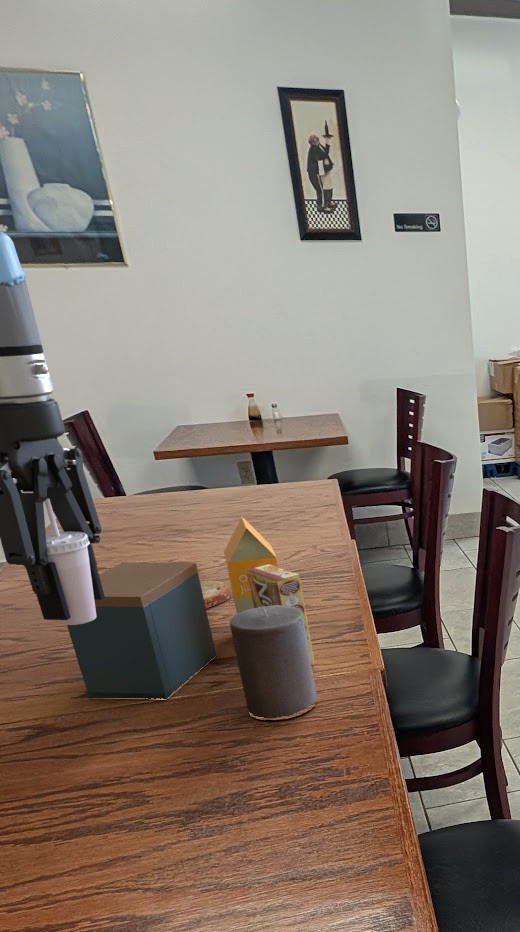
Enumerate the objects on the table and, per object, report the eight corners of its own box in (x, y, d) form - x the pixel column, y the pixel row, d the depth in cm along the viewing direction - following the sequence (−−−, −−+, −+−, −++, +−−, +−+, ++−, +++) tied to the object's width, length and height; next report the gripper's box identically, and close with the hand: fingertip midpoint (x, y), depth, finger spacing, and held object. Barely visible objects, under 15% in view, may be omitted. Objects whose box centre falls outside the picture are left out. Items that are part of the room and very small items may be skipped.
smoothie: (116, 608, 99) (85, 492, 93) (99, 627, 94) (65, 505, 88) (59, 611, 99) (24, 494, 92) (38, 631, 93) (0, 508, 87)
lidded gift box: (89, 699, 121) (57, 596, 114) (146, 656, 135) (122, 562, 128) (166, 700, 120) (140, 596, 113) (216, 657, 134) (195, 562, 127)
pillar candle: (241, 725, 113) (219, 623, 106) (254, 694, 121) (234, 598, 115) (314, 718, 114) (297, 617, 107) (321, 689, 123) (306, 593, 116)
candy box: (316, 666, 130) (301, 573, 124) (293, 675, 127) (276, 580, 121) (285, 652, 135) (269, 563, 129) (262, 660, 133) (244, 569, 126)
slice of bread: (240, 592, 164) (237, 574, 162) (188, 624, 148) (184, 605, 146) (159, 589, 167) (155, 571, 165) (100, 620, 151) (94, 601, 149)
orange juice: (243, 647, 138) (219, 530, 129) (239, 630, 145) (216, 518, 136) (291, 639, 141) (271, 524, 132) (284, 623, 148) (265, 512, 139)
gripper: (-16, 411, 77) (54, 640, 87) (102, 389, 93) (149, 582, 104) (-91, 411, 77) (-13, 638, 87) (39, 388, 94) (92, 581, 104)
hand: (75, 608), depth 96 cm, fingers closed on smoothie, 6 cm apart
